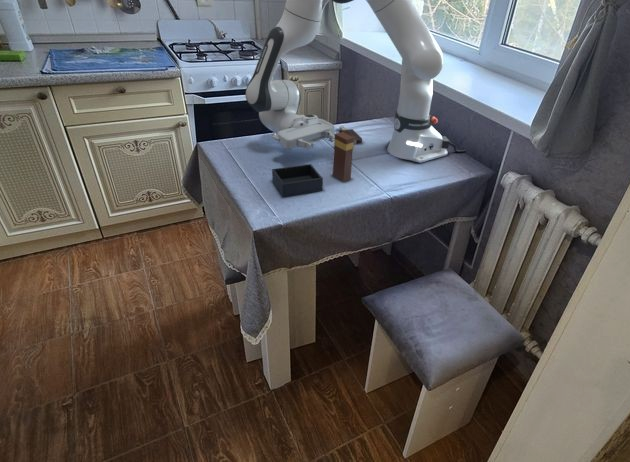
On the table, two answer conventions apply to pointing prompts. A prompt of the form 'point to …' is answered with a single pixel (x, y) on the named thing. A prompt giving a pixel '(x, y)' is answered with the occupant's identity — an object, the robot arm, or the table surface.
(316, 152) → the table surface
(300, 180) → the tray
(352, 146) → the chocolate box
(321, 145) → the table surface
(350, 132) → the ice cream bar
